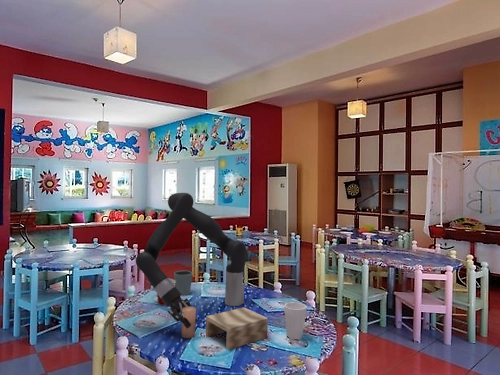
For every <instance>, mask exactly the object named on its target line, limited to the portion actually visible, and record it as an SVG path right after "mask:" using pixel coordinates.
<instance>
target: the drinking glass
mask: <svg viewBox="0 0 500 375" xmlns="http://www.w3.org/2000/svg"><path fill="white" fill-rule="evenodd" d="M173 277H174V278H173V280H175V281H176V283H175V284H174V285H175V286H176V288H177V289H178V290H179V292H180V293H181V296H180V297H182V296H188V295H190V294H191V285H192V278H193V272H192V271H190V270H177V271H174V273H173Z"/></svg>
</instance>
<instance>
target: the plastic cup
mask: <svg viewBox="0 0 500 375" xmlns="http://www.w3.org/2000/svg"><path fill="white" fill-rule="evenodd" d="M169 280H171V281H172V283H173V284H174V285H175V283H176V281H175V280H174V278H173V279H172V278H169ZM156 295H157V296H156V297H157V302H158V305H160V306H161V305H162V306H166V305H165V303H164V302H163V301H162V299H161V298H160V297H159V295H158V294H157V293H156Z"/></svg>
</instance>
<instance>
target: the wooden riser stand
mask: <svg viewBox="0 0 500 375" xmlns="http://www.w3.org/2000/svg"><path fill="white" fill-rule="evenodd" d="M205 319H206V320H205V336H206V337H211V336H216V335H219V334H222V332H223V333H226V337H225V338H226V343H225V348H226V350H228V351H230V350H233V349H236V348H238V347H241V346H244V345H248V344H251V343H253V342H254V343H255V342H256V341H257V342H258V341H261V340H263V338H264V339H267V338H268V327H269V326H268V325H269V318H268V317H266V316H264V315H261V314H259V313H258V312H255V311H253V310H251V309H248V308H246V307H239V308H235V309H231V310H228V311H222V312H219V313H214V314H211V315H206V317H205ZM218 333H219V334H218ZM266 337H267V338H266ZM260 339H261V340H260Z"/></svg>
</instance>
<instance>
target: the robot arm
mask: <svg viewBox="0 0 500 375" xmlns="http://www.w3.org/2000/svg"><path fill="white" fill-rule="evenodd" d="M167 204H168V207H169V209H170V211H171V213H170V214H169V215H168V216H167V217H166V219H164V220H163V221H162V222H161V223H160V224H158V226H157V227H156V228H155V230H154V231H153V232H152V235H150V237H149V239H148V241H147V242H146V247H145V248H144V250H143V251H142V252H140V253H138V254H137V255H136V257H135V264H136V267H137V269H138V270H140V271H141V272H142V273H143V274H144V276H145V277H146V278H147V281H148V282H149V284H150V285H151V286H152V288H153V289H154V290H155V292H156V295H157V294H158V295H159V297H160V298H161V299H162V301H163V302H164V303H165V305H164V306H166V307H170V309H169V310H168V311H167V313H168V314H169V316H170V317H171V318H173V320H175V322H176V323H179V322H180V323H181V324H182V323H183V324H184V326H185V327H186V328H187V329H188V328H189V327H190V326H191V324H190V322H189V321H188V320H187V318H185V315H184V312H183V308H184V307H193V306H192V304H191V302H190V301H189V299H188V298H185V299H183V298H181V297H182V296H181V293H180V292H179V290H178V289H177V288H176V286H175V284H173V283H172V281H171V280H169V279H170V278H168V276H167V275H166V274H165V272H164V271H163V270H162V269H161V268H160V266H159V264H158V263H157V259H158V257H159V255H160V253H161V251H162V249H163V248H164V246H165V245H166V243H167V242H168V240H169V238H170V237H171V235H172V233H173V232H174V231H175V230H176V228H177V227H178V226H179V225H180V223H181V221H182V220H185V221H187V222H188V223H189V225H191V226H192V227H193V228H194V229H196V230H197V231H198V233H200V234H202V235H203V236H204V237H205V238H206V239H208V240H209V241H210V242H212V243H213V244H214V245H216V246H217V247H218V248H219V250H221V251H222V253H223V254H225V255H226V256H227V257H229V258H231V262H230V263H229V264H227V265H226V267H225V269H226V270H225V287H224V288H225V290H224V292H225V293H224V295H225V296H224V304H225V305H226V306H230V307H238V306H241V305H243V304H245V285H244V268H245V266H246V259H247V246H246V244H245V243H244V242H242V241H237V240H234V239H232V238H230V237H229V236H228V235H226V234H225V233H224V231H223V228H222V227H221V226H220V224H219V223H218V222H217V221H216V220H215V219H214V218H212V217H211V216H209V215H208V214H206V213H205V212H202V211H201V210H198V209H196V208H195V207H193V206H194V198H193V196H192V195H191V194H190V193H189V192H176V193H173V194H171V195H169V197H168V199H167ZM196 322H198V319H197V317H195V323H196Z"/></svg>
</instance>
